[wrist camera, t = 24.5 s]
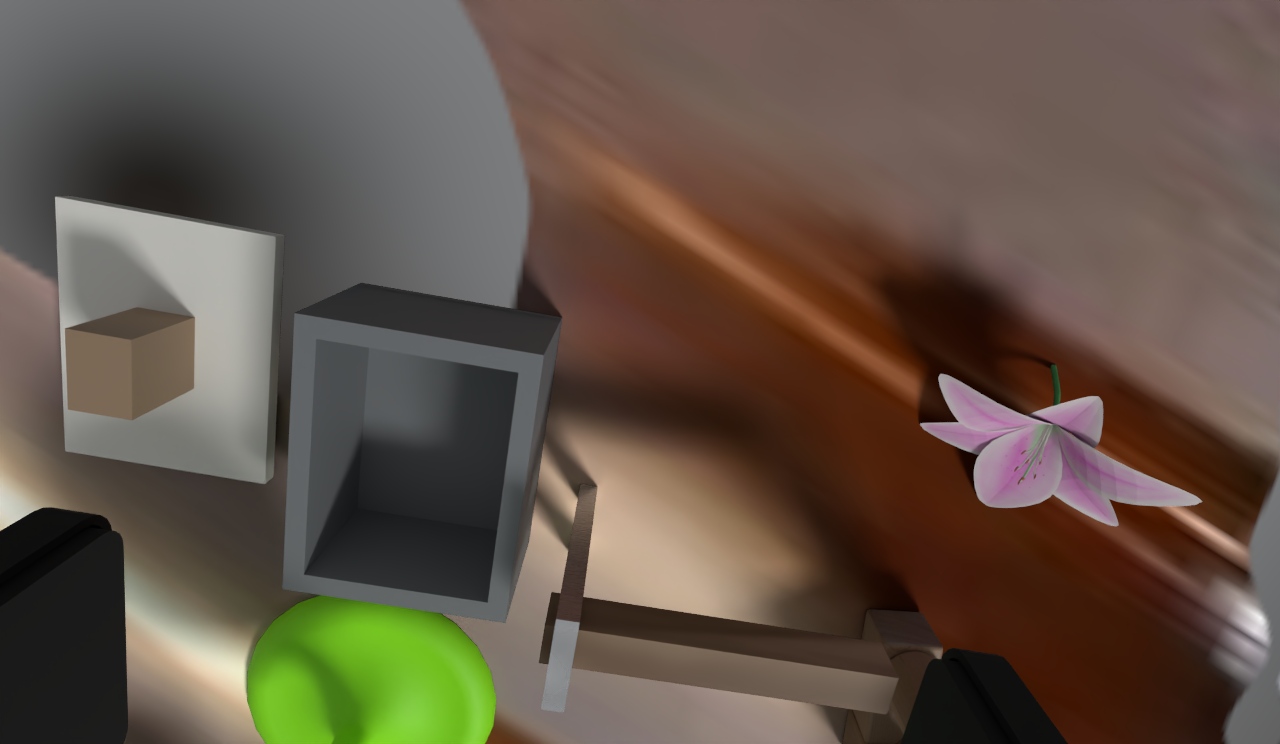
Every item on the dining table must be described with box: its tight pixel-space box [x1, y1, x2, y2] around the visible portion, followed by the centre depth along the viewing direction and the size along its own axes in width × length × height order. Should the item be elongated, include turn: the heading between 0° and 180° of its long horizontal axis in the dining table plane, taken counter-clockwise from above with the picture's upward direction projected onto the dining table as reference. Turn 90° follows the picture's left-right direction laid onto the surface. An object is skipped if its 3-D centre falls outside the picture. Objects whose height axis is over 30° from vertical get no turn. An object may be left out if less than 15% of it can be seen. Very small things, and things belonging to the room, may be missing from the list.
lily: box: [920, 365, 1202, 526], centre depth 38 cm, size 12×12×10 cm
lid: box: [55, 196, 285, 484], centre depth 37 cm, size 14×11×7 cm
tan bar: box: [539, 592, 899, 715], centre depth 34 cm, size 2×16×2 cm, turn 80°
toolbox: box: [282, 283, 597, 713], centre depth 36 cm, size 14×14×13 cm
